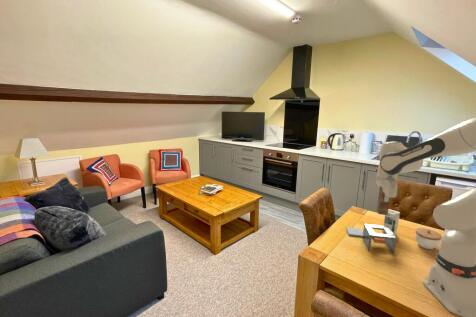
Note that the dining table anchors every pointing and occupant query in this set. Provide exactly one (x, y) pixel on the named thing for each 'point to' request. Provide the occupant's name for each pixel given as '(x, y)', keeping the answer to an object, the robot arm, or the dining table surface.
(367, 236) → the frame
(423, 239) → the lidded jar
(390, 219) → the syrup box
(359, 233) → the slate pad
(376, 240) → the button
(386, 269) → the dining table surface
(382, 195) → the brown rectangular block
